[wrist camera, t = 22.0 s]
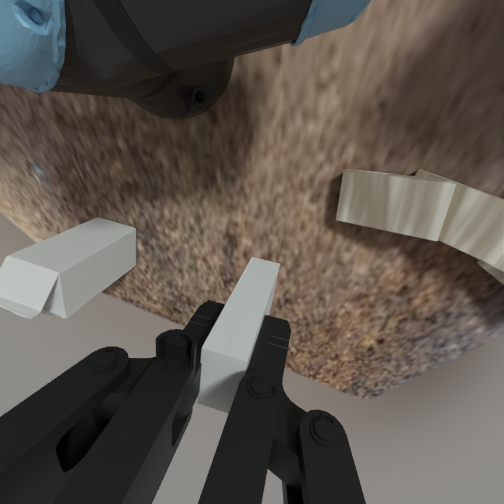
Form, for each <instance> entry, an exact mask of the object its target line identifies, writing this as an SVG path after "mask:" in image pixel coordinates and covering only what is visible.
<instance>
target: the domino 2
mask: <svg viewBox="0 0 504 504" xmlns="http://www.w3.org/2000/svg"><path fill="white" fill-rule="evenodd" d="M415 176H417V177H426V178H435V179H443V180H450V179H447V178H444V177H441V176H439V175H436V174H433V173H430V172H428V171H425V170H422V169H418V171H417V173H416V174H415ZM438 240H439V241H441V242H443V243H445V244H448V245H450V246H452V247H454V248H456V249H459V250H461V251H463V252H465V253H467V254H469V255H472V256H474V257H476V258H478V259H480V260H483V261H485V262H487V263H489V264H491V265H493V266H494V265H495V264H496V262H497V261H498V260H499V259H500V258H501V257H502V255H503V254H504V199H502V198H499V197H496V196H494V195H491V194H488V193H485V192H483V191H480V190H477V189H474V188H472V187H469V186H466V185H463V184H461V183H458V182H457V184H456V187H455V190H454V193H453V196H452V199H451V202H450V205H449V208H448V211H447V214H446V217H445V220H444V223H443V226H442V229H441V232H440V235H439V238H438Z"/></svg>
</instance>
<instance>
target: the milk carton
mask: <svg viewBox="0 0 504 504" xmlns="http://www.w3.org/2000/svg"><path fill="white" fill-rule="evenodd" d="M135 266H136V228H133V227H130V226H127V225H123V224H120V223H117V222H113V221H110V220H107V219H103V218H100V217H97V218H95V219H92V220H90V221H88V222H85V223H83V224H81V225H78V226H76V227H74V228H71V229H69V230H67V231H64V232H62V233H60V234H57V235H55V236H53V237H50V238H48V239H46V240H43V241H41V242H39V243H36V244H34V245H32V246H29V247H27V248H25V249H22V250H20V251H18V252H15V253H13V254H11V255H8V256H7V257H6V259H5V261H4V262H3V264H2V266H1V268H0V307H1V308H4V309H7V310H9V311H12V312H13V313H14V314H16V315H19V316H22V317H25V318H29V319H34V318H35V316H36V315H38V314H39V313H44V314H48V315H52V316H56V317H60V318H64V319H66V318H68V317H69V316H70V315H72V314H73V313H74V312H76V311H77V310H78V309H80V308H81V307H82V306H83V305H85V304H86V303H87V302H88V301H90V300H91V299H93V298H94V297H95V296H97V295H98V294H99V293H100V292H102V291H103V290H104V289H106V288H107V287H108V286H110V285H111V284H112V283H114V282H115V281H116V280H117V279H119V278H120V277H121V276H123V275H124V274H125V273H127V272H128V271H129V270H131V269H132V268H133V267H135Z"/></svg>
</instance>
